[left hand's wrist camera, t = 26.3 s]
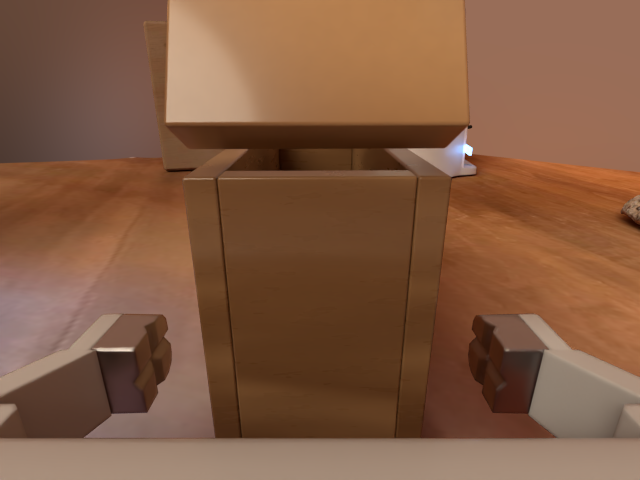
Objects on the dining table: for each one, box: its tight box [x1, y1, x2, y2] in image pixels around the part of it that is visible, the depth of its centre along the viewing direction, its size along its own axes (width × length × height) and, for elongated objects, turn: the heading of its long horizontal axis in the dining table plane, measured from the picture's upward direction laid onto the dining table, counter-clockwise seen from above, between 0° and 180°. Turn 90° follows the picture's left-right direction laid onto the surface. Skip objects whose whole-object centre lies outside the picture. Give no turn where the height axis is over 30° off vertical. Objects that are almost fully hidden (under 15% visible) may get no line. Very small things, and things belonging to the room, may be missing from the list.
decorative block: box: [143, 21, 225, 171], centre depth 59 cm, size 11×6×20 cm, turn 103°
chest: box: [182, 149, 452, 438], centre depth 15 cm, size 14×5×10 cm, turn 1°
